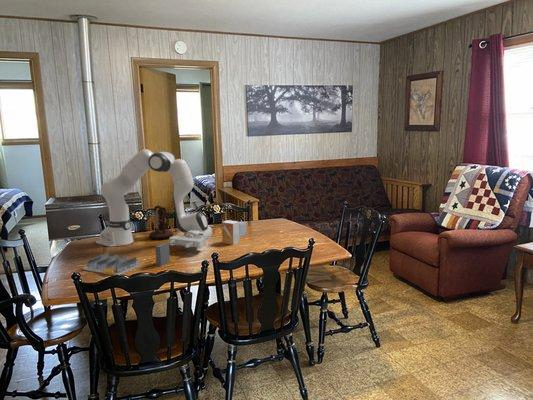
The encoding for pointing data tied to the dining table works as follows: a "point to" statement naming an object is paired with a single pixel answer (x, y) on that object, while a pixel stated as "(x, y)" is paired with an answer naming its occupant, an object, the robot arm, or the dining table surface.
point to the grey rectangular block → (162, 254)
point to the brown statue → (160, 224)
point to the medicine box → (242, 229)
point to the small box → (230, 232)
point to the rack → (111, 264)
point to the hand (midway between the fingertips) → (178, 245)
